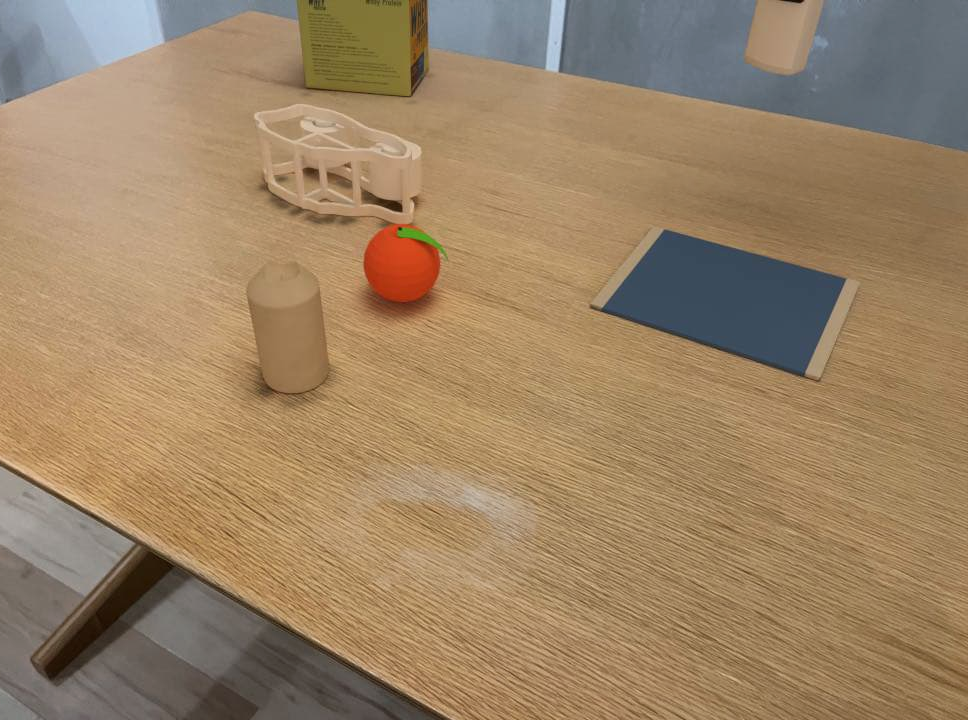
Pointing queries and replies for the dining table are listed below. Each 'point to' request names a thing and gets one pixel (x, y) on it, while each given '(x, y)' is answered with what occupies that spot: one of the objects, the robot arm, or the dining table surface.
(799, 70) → the eye dropper bottle
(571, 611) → the dining table surface
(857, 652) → the dining table surface
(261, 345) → the candle
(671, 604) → the dining table surface
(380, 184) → the cream open lattice frame
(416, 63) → the protein box
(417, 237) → the clementine
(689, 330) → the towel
